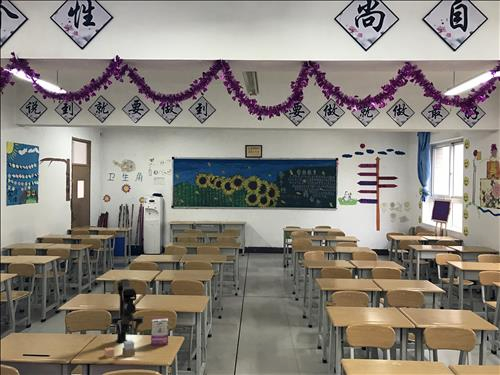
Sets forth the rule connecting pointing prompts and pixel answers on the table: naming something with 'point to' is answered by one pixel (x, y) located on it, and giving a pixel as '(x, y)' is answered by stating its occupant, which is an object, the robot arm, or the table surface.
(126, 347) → the slate block
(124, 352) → the walnut base block
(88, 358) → the table surface
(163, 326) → the candy bar box
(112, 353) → the terracotta cube
